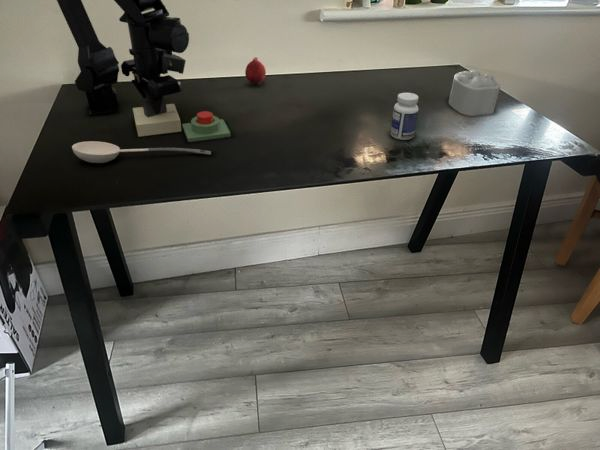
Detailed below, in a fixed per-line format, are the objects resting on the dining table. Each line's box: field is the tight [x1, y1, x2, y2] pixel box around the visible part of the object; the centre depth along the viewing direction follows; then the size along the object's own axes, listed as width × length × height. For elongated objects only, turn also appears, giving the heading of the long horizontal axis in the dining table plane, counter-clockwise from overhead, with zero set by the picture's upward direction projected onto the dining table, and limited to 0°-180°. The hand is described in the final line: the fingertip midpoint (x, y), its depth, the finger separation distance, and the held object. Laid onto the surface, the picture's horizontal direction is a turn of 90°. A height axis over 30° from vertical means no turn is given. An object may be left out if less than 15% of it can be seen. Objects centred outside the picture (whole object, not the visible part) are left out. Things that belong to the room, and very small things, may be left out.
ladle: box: [71, 140, 212, 164], centre depth 105 cm, size 6×28×5 cm, turn 101°
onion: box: [244, 56, 267, 86], centre depth 139 cm, size 6×6×8 cm
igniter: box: [181, 114, 232, 143], centre depth 116 cm, size 10×8×3 cm
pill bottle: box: [389, 92, 419, 141], centre depth 115 cm, size 6×6×10 cm
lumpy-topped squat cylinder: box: [448, 69, 501, 117], centre depth 132 cm, size 10×13×9 cm
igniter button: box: [196, 110, 214, 125], centre depth 114 cm, size 4×4×2 cm
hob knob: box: [141, 96, 167, 117], centre depth 116 cm, size 5×2×4 cm, turn 129°
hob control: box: [132, 103, 183, 138], centre depth 118 cm, size 10×10×3 cm
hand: (155, 111), depth 117 cm, fingers closed on hob knob, 2 cm apart
